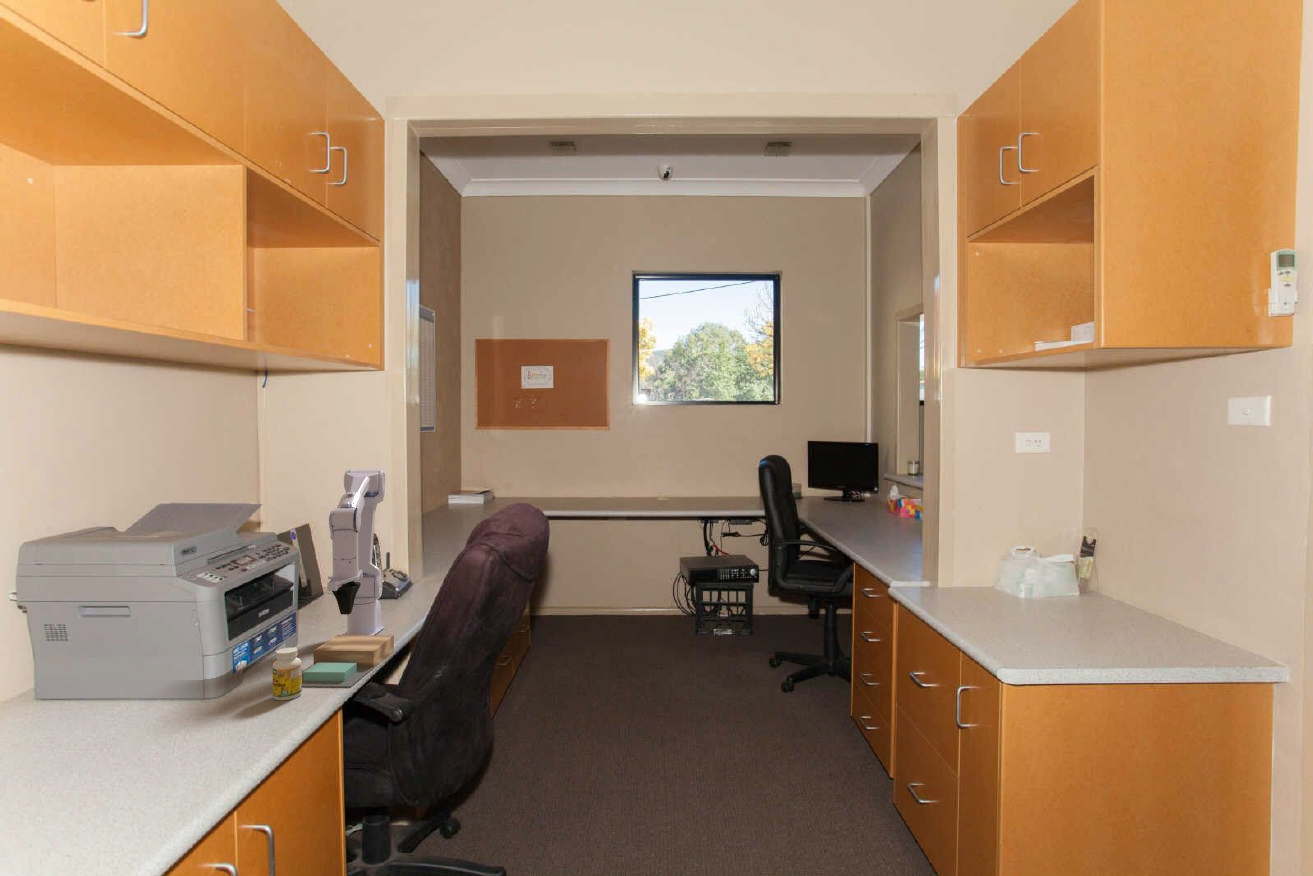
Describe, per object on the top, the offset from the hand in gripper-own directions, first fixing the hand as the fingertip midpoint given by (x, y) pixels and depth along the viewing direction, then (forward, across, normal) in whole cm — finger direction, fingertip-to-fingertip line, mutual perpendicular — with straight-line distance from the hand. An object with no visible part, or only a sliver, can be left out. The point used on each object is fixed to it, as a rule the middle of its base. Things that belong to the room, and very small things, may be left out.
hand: (346, 613), depth 175 cm
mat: (+10, +14, +3) cm, 18 cm away
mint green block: (+8, +14, +3) cm, 17 cm away
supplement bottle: (+11, +25, -1) cm, 27 cm away
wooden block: (+10, +2, +3) cm, 11 cm away
